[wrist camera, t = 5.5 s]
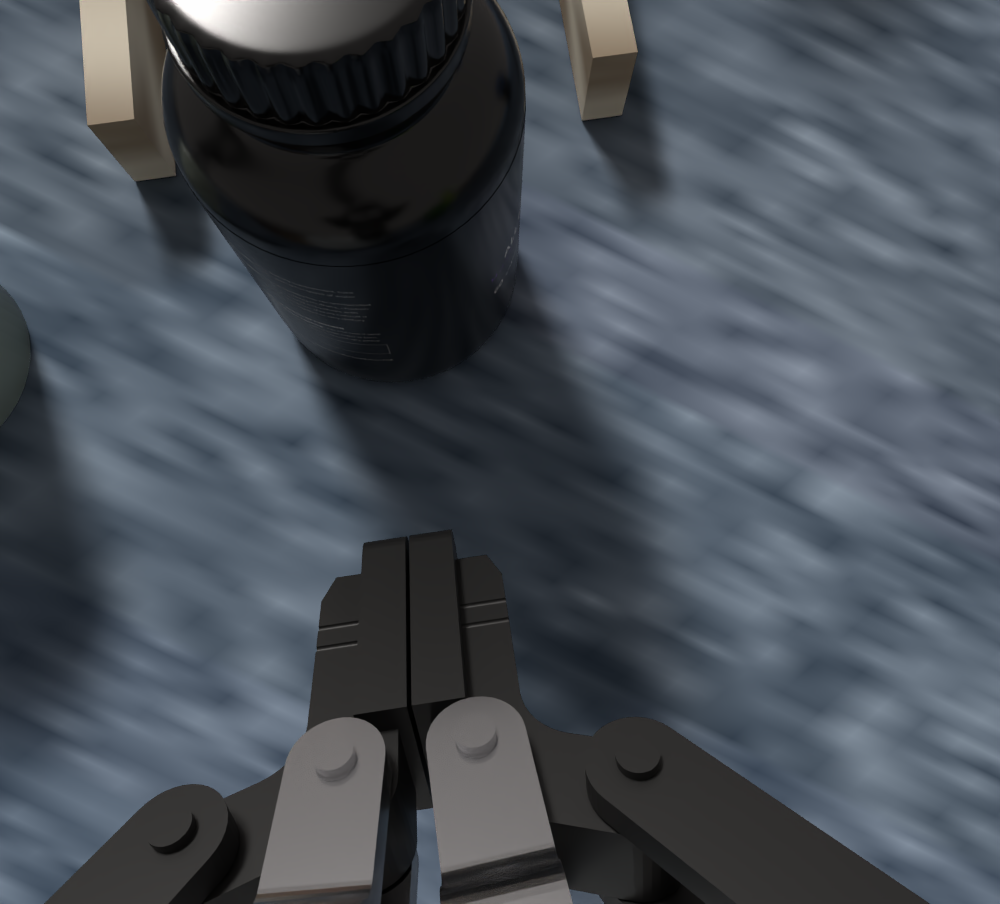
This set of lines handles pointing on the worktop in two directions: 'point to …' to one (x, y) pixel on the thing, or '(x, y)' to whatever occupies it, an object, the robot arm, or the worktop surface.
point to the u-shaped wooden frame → (141, 53)
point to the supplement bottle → (357, 165)
